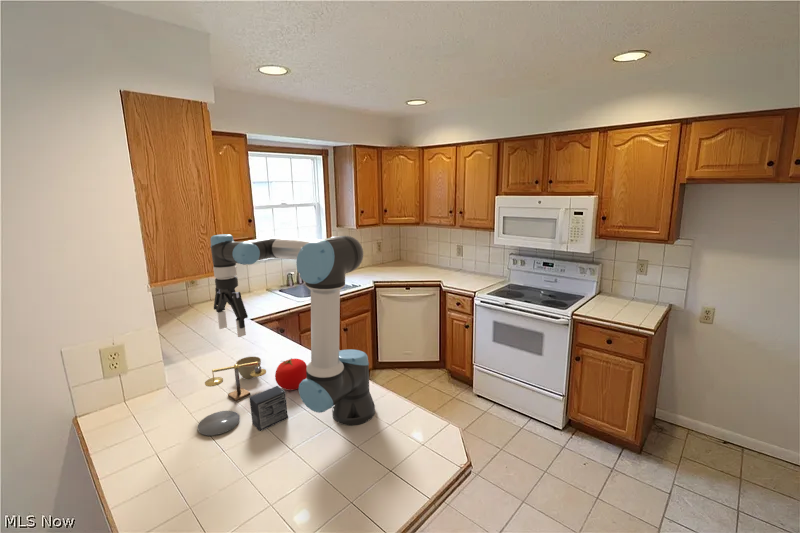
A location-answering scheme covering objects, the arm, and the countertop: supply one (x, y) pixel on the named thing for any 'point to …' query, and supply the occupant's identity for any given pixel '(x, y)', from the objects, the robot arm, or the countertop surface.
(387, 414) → the countertop surface
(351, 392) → the robot arm
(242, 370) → the flower pot
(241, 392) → the balance
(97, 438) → the countertop surface
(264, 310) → the countertop surface
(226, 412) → the dish
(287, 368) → the tomato
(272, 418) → the small box
